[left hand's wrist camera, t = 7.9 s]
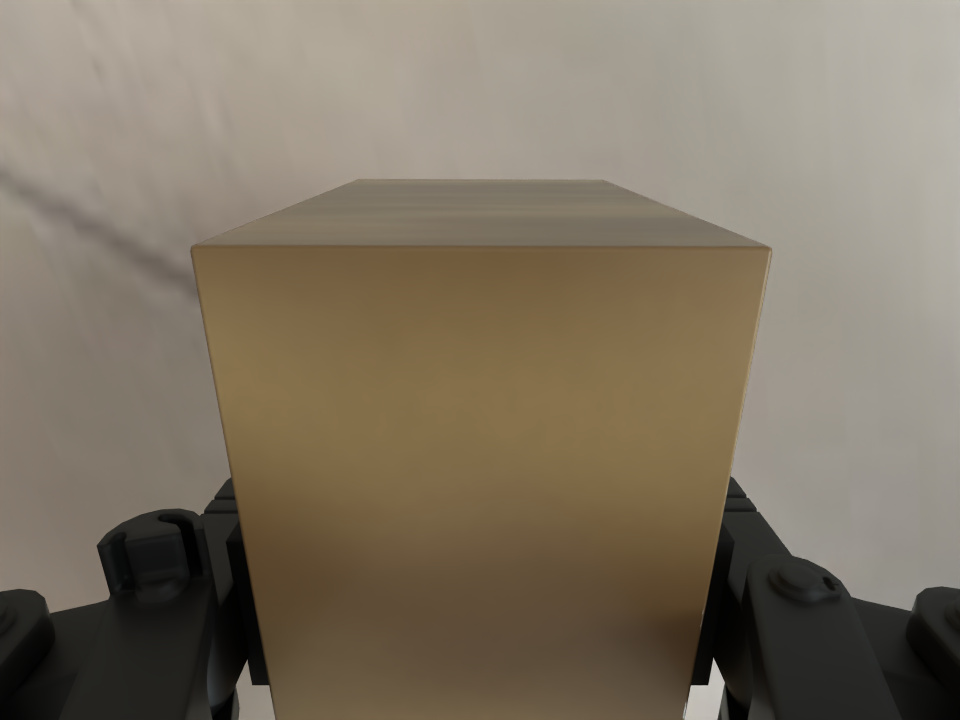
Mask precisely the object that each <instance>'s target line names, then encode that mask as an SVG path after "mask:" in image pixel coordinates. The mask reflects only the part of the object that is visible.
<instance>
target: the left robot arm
mask: <svg viewBox="0 0 960 720" xmlns="http://www.w3.org/2000/svg"><path fill="white" fill-rule="evenodd" d="M97 549H98V552H99V556H100V559H101V563H102V566H103V570H104V574H105V577H106V581H107V584H108V588H109V591H110V597H109V599H108V600H106V601H102V602H99V603H95V604H91V605H86V606H82V607H77V608H73V609H68V610H64V611H59V612H55V613H49V610H48V607H47V604H46V601H45V598H44V597H43V596H41V595H40V594H39V593H38V592H36V591H32V590H24V589H15V590H9V591H2V592H0V720H238V718H239V701H238V695H237V690H236V683H237V681H238V679H239V676H240V674H241V672H242V670H243V667H244V665H245V663H246V661H247V660H248V665H249V670H250V676H251V681H252V685H269V681H268V675H267V670H266V664H265V659H264V653H263V648H262V642H261V637H260V631H259V626H258V620H257V615H256V609H255V604H254V598H253V593H252V587H251V582H250V576H249V571H248V565H247V560H246V554H245V549H244V543H243V538H242V532H241V527H240V521H239V516H238V510H237V505H236V499H235V494H234V488H233V483H232V477H231V478H230V479H228V480H227V481H226V482H225V483H224V485H223V486H222V487H221V489H220V490H219V491H218V493H217V494H216V495H215V499H214V500H212V501H211V502H210V503H209V505H208V506H207V507H206V509H205V510H204V514H201V515H200V516H199V515H197V514H196V513H195V512H193V511H188V510H184V509H162V510H158V511H153V512H149V513H145V514H141V515H139V516H137V517H134V518H132V519H130V520H128V521H125V522H123V523H121V524H120V525H118V526H117V527H115V528H114V529H113V530H111V531H110V532H108V533H107V534H106V535H105V536H104V537H103V539H102V540H101V541H100V542H99V544H98V545H97ZM713 657H714V659H715V661H716V664H717V666H718V668H719V670H720V672H721V675H722V677H723V679H724V681H725V685H724V690H723V695H722V700H721V705H720V710H719V715H718V720H960V589H955V588H949V587H934V588H926V589H925V590H923V591H922V592H921V593H919V594H918V595H917V597H916V600H915V603H914V606H913V609H912V611H908V610H903V609H899V608H894V607H890V606H885V605H881V604H876V603H872V602H867V601H863V600H860V599H856V598H853V597H851V596H850V594H849V592H848V591H847V589H846V588H845V586H844V585H843V584H842V582H841V581H840V580H839V579H838V578H836V577H835V576H834V575H832V574H831V573H830V572H829V571H827V570H826V569H824V568H822V567H820V566H818V565H816V564H814V563H812V562H810V561H808V560H805V559H802V558H798V557H794V556H792V555H791V553H790V552H789V551H788V549H787V548H786V547H785V545H784V544H783V543H782V542H781V540H780V539H779V538H778V536H777V535H776V534H775V532H774V531H773V530H772V528H771V527H770V526H769V524H768V523H767V522H766V520H765V519H764V518H763V516H762V515H761V514H760V512H757V510H756V507H755V506H754V504H753V503H752V502H751V500H750V499H749V498H746V494H745V493H744V491H743V490H742V489H741V487H740V486H739V485H738V483H737V482H736V481H735V479H734V478H732V477H731V476H730V479H729V485H728V490H727V495H726V501H725V506H724V511H723V517H722V522H721V527H720V533H719V538H718V543H717V548H716V554H715V559H714V564H713V570H712V575H711V580H710V586H709V591H708V596H707V602H706V607H705V612H704V617H703V623H702V628H701V633H700V639H699V644H698V649H697V655H696V660H695V665H694V670H693V676H692V681H691V685H708V683H709V678H710V673H711V667H712V662H713Z"/></svg>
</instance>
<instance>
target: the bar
mask: <svg viewBox="0 0 960 720" xmlns="http://www.w3.org/2000/svg"><path fill="white" fill-rule="evenodd" d="M191 257H192V262H193V268H194V273H195V279H196V285H197V290H198V296H199V301H200V307H201V312H202V318H203V323H204V329H205V334H206V340H207V345H208V351H209V356H210V362H211V367H212V373H213V378H214V384H215V389H216V395H217V400H218V406H219V411H220V417H221V422H222V428H223V433H224V439H225V444H226V450H227V455H228V461H229V466H230V472H231V477H232V483H233V488H234V494H235V499H236V505H237V510H238V516H239V521H240V527H241V532H242V538H243V543H244V549H245V554H246V560H247V565H248V571H249V576H250V582H251V587H252V593H253V598H254V604H255V609H256V615H257V620H258V626H259V631H260V637H261V642H262V648H263V653H264V659H265V664H266V670H267V675H268V681H269V686H270V692H271V697H272V703H273V708H274V714H275V719H276V720H684V718H685V713H686V708H687V702H688V697H689V692H690V686H691V681H692V676H693V670H694V665H695V660H696V655H697V649H698V644H699V639H700V633H701V628H702V623H703V617H704V612H705V607H706V602H707V596H708V591H709V586H710V580H711V575H712V570H713V564H714V559H715V554H716V548H717V543H718V538H719V533H720V527H721V522H722V517H723V511H724V506H725V501H726V495H727V490H728V485H729V479H730V474H731V469H732V464H733V458H734V453H735V448H736V442H737V437H738V432H739V426H740V421H741V416H742V410H743V405H744V400H745V395H746V389H747V384H748V379H749V373H750V368H751V363H752V357H753V352H754V347H755V341H756V336H757V331H758V326H759V320H760V315H761V310H762V304H763V299H764V294H765V288H766V283H767V278H768V273H769V267H770V262H771V257H772V249H771V248H770V247H768V246H766V245H763V244H761V243H758V242H756V241H753V240H751V239H748V238H746V237H744V236H741V235H739V234H736V233H734V232H731V231H729V230H726V229H724V228H721V227H719V226H716V225H714V224H711V223H709V222H706V221H704V220H701V219H699V218H696V217H694V216H691V215H689V214H686V213H684V212H681V211H679V210H676V209H674V208H671V207H669V206H667V205H664V204H662V203H659V202H657V201H654V200H652V199H649V198H647V197H644V196H642V195H639V194H637V193H634V192H632V191H629V190H627V189H624V188H622V187H619V186H617V185H614V184H612V183H609V182H607V181H604V180H438V179H358V180H356V181H353V182H351V183H348V184H346V185H343V186H341V187H338V188H336V189H333V190H331V191H328V192H326V193H323V194H321V195H318V196H316V197H313V198H311V199H308V200H306V201H303V202H301V203H298V204H296V205H293V206H291V207H288V208H286V209H283V210H281V211H278V212H276V213H273V214H271V215H268V216H266V217H263V218H261V219H258V220H256V221H253V222H251V223H248V224H246V225H243V226H241V227H238V228H236V229H233V230H231V231H228V232H226V233H223V234H221V235H218V236H216V237H213V238H211V239H208V240H206V241H203V242H201V243H198V244H196V245H193V246H192V247H191Z"/></svg>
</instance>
